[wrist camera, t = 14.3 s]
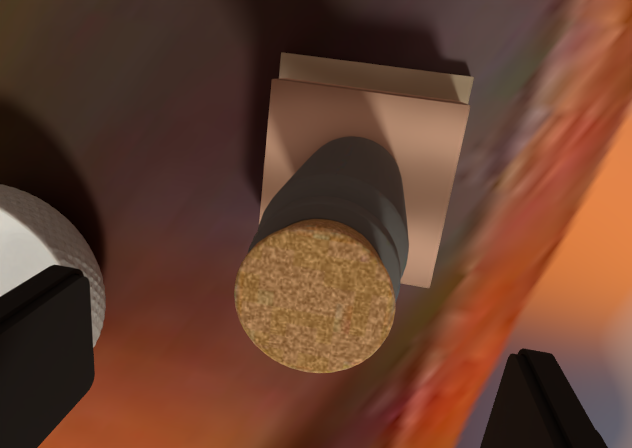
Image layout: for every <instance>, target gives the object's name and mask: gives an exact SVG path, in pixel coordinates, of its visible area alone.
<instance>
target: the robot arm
mask: <svg viewBox="0 0 632 448" xmlns="http://www.w3.org/2000/svg"><path fill="white" fill-rule="evenodd" d="M94 374H95V372H94V354H93V335H92V316H91V298H90V283H89V279H88V278H87V277H86V276H84V274H83V272H82V271H81V270H80V269H77V268H72V267H66V266H60V265H52V266H49V267H48V268H46V269H44V270H43V271H41V272H40V273H38V274H36V275H35V276H33V277H31V278H30V279H28V280H27V281H25V282H23V283H22V284H20V285H18V286H17V287H15V288H13V289H12V290H10V291H9V292H7V293H5V294H4V295H2V296H0V448H37V447H38V446H39V445H40V444H41V443H42V442H43V441H44V439H45V438H46V437H47V436H48V435H49V434H50V433H51V432H52V431H53V430H54V428H55V427H56V426H57V425H58V424H59V423H60V422H61V421H62V420H63V418H64V417H65V416H66V415H67V414H68V413H69V412H70V411H71V410H72V408H73V407H74V406H75V405H76V404H77V403H78V402H79V401H80V400H81V398H82V397H83V396H84V395H85V394H86V393H87V392H88V390H89V389H90V387H91V386H92V383H93V380H94ZM480 448H608V447H607V446H606V444H605V442H604V440H603V439H602V437H601V435H600V434H599V433H598V432H597V430H595V428H594V426H593V425H592V423H591V421H590V419H589V417H588V416H587V414H586V412H585V410H584V409H583V407H582V405H581V403H580V401H579V400H578V398H577V396H576V394H575V393H574V391H573V389H572V388H571V386H570V384H569V382H568V380H567V379H566V377H565V375H564V373H563V371H562V370H561V368H560V366H559V364H558V363H557V361H556V359H555V357H554V356H553V355H552V354H550V353H546V352H540V351H534V350H528V349H521V350H520V351H519V352H518V354H510V356H509V357H508V360H507V363H506V366H505V369H504V373H503V376H502V379H501V382H500V386H499V389H498V392H497V395H496V398H495V402H494V405H493V408H492V411H491V414H490V418H489V421H488V424H487V427H486V431H485V434H484V437H483V440H482V443H481V447H480Z"/></svg>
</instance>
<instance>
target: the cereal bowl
mask: <svg viewBox="0 0 632 448" xmlns="http://www.w3.org/2000/svg"><path fill="white" fill-rule="evenodd" d="M52 265H60V266H66V267H72V268H77V269H80V270H81V271H82V272H83V274H84V276H86V277H87V278H88V279H89V283H90V298H91V316H92V335H93V347H94V346H95V345H96V341H97V339H98V338H99V336H100V332H101V329H102V327H103V320H104V315H105V307H106V305H105V299H106V297H105V286H104V284H103V277H102V274H101V271H100V267H99V266H98V263H97V261H96V259H95V256H94V254H93V252H92V250H91V249H90V247H89V245H88V244H87V242H86V240H85V239H84V238H83V236H82V235H81V234H80V233H79V231H78V230H77V229H76V228H75V226H74V225H73V224H72V223H71V222H70V221H69V220H68V219H67V218H66V217H65V216H63V215H62V214H61V213H60V212H59V211H57V210H56V209H55V208H53V207H52V206H50V205H49V204H48V203H46V202H44V201H42V200H41V199H39V198H37V197H36V196H33V195H31V194H29V193H27V192H25V191H21V190H19V189H17V188H13V187H9V186H6V185H1V184H0V296H2V295H4V294H5V293H7V292H9V291H10V290H12V289H13V288H15V287H17V286H18V285H20V284H22V283H23V282H25V281H27V280H28V279H30V278H31V277H33V276H35V275H36V274H38V273H40V272H41V271H43V270H44V269H46V268H48V267H49V266H52Z"/></svg>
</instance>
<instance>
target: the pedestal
mask: <svg viewBox="0 0 632 448" xmlns="http://www.w3.org/2000/svg"><path fill="white" fill-rule="evenodd" d="M473 79H474V77H470V76H462V75H454V74H446V73H438V72H431V71H423V70H415V69H407V68H399V67H392V66H384V65H376V64H368V63H360V62H353V61H345V60H337V59H329V58H321V57H314V56H306V55H298V54H290V53H282V52H281V61H280V72H279V79H272V82H271V94H270V105H269V117H268V128H267V140H266V151H265V163H264V174H263V186H262V197H261V209H260V220H259V224H260V221H261V218H262V215H263V213H264V211H265V209H266V207H267V206H268V204H269V203H270V201H271V200H272V198H273V197H274V196H275V195H276V194H277V193H278V191H279V190H280V189H281V188H282V187H283V186H284V185H285V184H286V183H287V181H288V180H289V179H290V178H291V177H292V176H293V175H294V174H295V173H296V172H297V170H298V169H299V168H300V167H301V166H302V165H303V164H304V163H305V162H306V161H307V160H308V159H309V158H310V157H311V156H312V155H313V154H314V153H315V152H316V151H317V150H318V149H319V148H321V147H322V146H323V145H325V144H326V143H328V142H330V141H332V140H335V139H338V138H342V137H349V136H355V137H362V138H366V139H369V140H372V141H374V142H376V143H378V144H379V145H381V146H382V147H384V148H385V149H386V150H387V151H388V152H389V153H390V154H391V156H392V157H393V158H394V160H395V161H396V163H397V165H398V167H399V170H400V173H401V178H402V183H403V191H404V199H405V207H406V216H407V226H408V239H409V252H408V259H407V264H406V267H405V270H404V273H403V276H402V278H401V281H400V283H402V284H408V285H414V286H420V287H425V288H430V284H431V279H432V275H433V270H434V266H435V261H436V257H437V253H438V248H439V244H440V239H441V235H442V230H443V226H444V221H445V217H446V212H447V208H448V203H449V199H450V194H451V190H452V186H453V181H454V177H455V172H456V168H457V163H458V159H459V154H460V150H461V145H462V141H463V136H464V132H465V128H466V123H467V119H468V114H469V110H470V105H468V101H469V97H470V92H471V88H472V83H473Z"/></svg>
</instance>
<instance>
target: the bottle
mask: <svg viewBox="0 0 632 448" xmlns="http://www.w3.org/2000/svg"><path fill="white" fill-rule="evenodd" d="M408 252H409V239H408V226H407V216H406V207H405V199H404V191H403V183H402V178H401V173H400V170H399V167H398V165H397V163H396V161H395V160H394V158H393V157H392V156H391V154H390V153H389V152H388V151H387V150H386V149H385V148H384V147H382V146H381V145H379V144H378V143H376V142H374V141H372V140H369V139H366V138H362V137H355V136H349V137H342V138H338V139H335V140H332V141H330V142H328V143H326V144H325V145H323V146H322V147H321V148H319V149H318V150H317V151H316V152H315V153H314V154H313V155H312V156H311V157H310V158H309V159H308V160H307V161H306V162H305V163H304V164H303V165H302V166H301V167H300V168H299V169H298V170H297V172H296V173H295V174H294V175H293V176H292V177H291V178H290V179H289V180H288V181H287V183H286V184H285V185H284V186H283V187H282V188H281V189H280V190H279V191H278V193H277V194H276V195H275V196H274V197H273V198H272V200H271V201H270V203H269V204H268V206H267V207H266V209H265V211H264V213H263V215H262V218H261V221H260V224H259V228H258V232H257V233H256V235H255V236H254V239H253V241H252V243H251V245H250V248H249V251H248V254H247V255H246V257H245V259H244V260H243V262H242V263H241V266H240V268H239V270H238V273H237V276H236V282H235V289H234V297H235V306H236V311H237V314H238V317H239V320H240V322H241V324H242V327H243V329H244V330H245V332H246V333H247V335H248V336H249V337H250V339H251V340H252V341H253V343H254V344H255V345H256V346H257V347H258V348H259V349H260V350H261V351H262V352H263V353H265V354H266V355H268V356H269V357H270V358H272V359H274V360H275V361H277V362H279V363H281V364H283V365H285V366H287V367H290V368H293V369H297V370H301V371H305V372H313V373H330V372H336V371H340V370H344V369H348V368H351V367H353V366H355V365H358V364H359V363H361V362H363V361H364V360H366V359H367V358H369V357H370V356H371V355H373V354H374V352H375V351H376V350H377V349H378V348H379V347H380V346H381V345H382V343H383V342H384V341H385V339H386V338H387V336H388V334H389V331H390V329H391V327H392V324H393V320H394V316H395V303H396V300H397V297H398V294H399V290H400V281H401V278H402V276H403V273H404V270H405V267H406V264H407V259H408Z"/></svg>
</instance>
